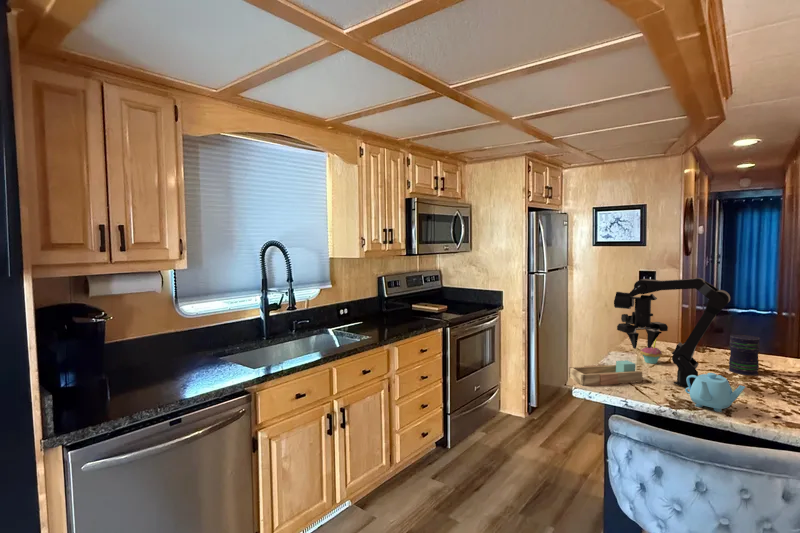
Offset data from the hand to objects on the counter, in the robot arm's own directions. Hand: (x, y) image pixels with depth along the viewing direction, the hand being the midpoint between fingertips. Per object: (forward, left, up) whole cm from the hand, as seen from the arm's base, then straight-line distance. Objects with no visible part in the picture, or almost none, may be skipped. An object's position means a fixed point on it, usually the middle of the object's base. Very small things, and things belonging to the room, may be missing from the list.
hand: (641, 348), depth 177 cm
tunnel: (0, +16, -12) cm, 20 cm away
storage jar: (-1, -46, -12) cm, 48 cm away
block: (0, +7, -10) cm, 13 cm away
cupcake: (+18, -18, -12) cm, 28 cm away
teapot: (-32, -2, -12) cm, 34 cm away
